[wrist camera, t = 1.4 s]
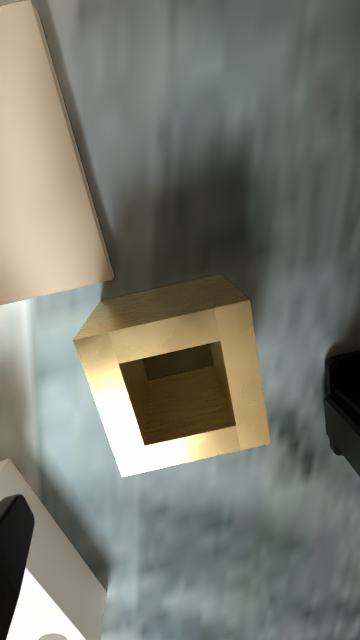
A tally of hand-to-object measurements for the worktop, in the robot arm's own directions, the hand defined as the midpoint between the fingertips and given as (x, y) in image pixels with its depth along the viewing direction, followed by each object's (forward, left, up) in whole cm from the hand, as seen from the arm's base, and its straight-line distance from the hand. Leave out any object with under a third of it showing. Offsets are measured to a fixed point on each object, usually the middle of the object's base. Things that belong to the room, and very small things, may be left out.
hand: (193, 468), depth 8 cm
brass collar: (0, 0, -8) cm, 8 cm away
